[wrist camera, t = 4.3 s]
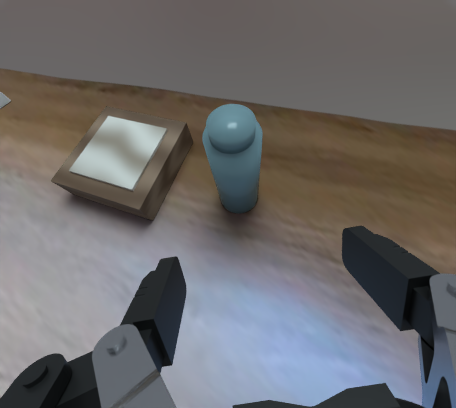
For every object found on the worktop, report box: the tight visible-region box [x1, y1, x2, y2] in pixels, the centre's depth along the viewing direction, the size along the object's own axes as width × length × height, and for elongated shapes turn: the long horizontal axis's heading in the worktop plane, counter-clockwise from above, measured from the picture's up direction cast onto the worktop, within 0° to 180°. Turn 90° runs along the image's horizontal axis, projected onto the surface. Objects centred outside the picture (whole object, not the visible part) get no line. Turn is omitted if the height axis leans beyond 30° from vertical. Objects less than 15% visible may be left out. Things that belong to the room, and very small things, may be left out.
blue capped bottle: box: [203, 104, 262, 213], centre depth 23 cm, size 5×5×14 cm
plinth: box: [51, 106, 193, 221], centre depth 31 cm, size 14×14×4 cm
